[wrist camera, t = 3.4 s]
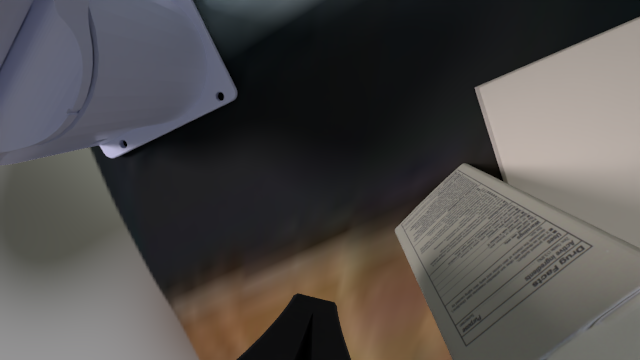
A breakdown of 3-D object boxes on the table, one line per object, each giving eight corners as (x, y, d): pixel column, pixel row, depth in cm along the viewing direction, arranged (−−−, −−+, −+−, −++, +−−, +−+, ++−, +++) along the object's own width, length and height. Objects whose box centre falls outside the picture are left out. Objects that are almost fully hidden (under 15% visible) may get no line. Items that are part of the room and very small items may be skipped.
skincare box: (438, 268, 21) (565, 498, 9) (391, 228, 20) (462, 418, 8) (515, 202, 19) (792, 376, 7) (467, 156, 19) (686, 266, 7)
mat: (535, 286, 21) (541, 292, 20) (474, 87, 17) (479, 87, 17) (730, 226, 19) (743, 230, 18) (701, -10, 16) (715, -14, 15)
